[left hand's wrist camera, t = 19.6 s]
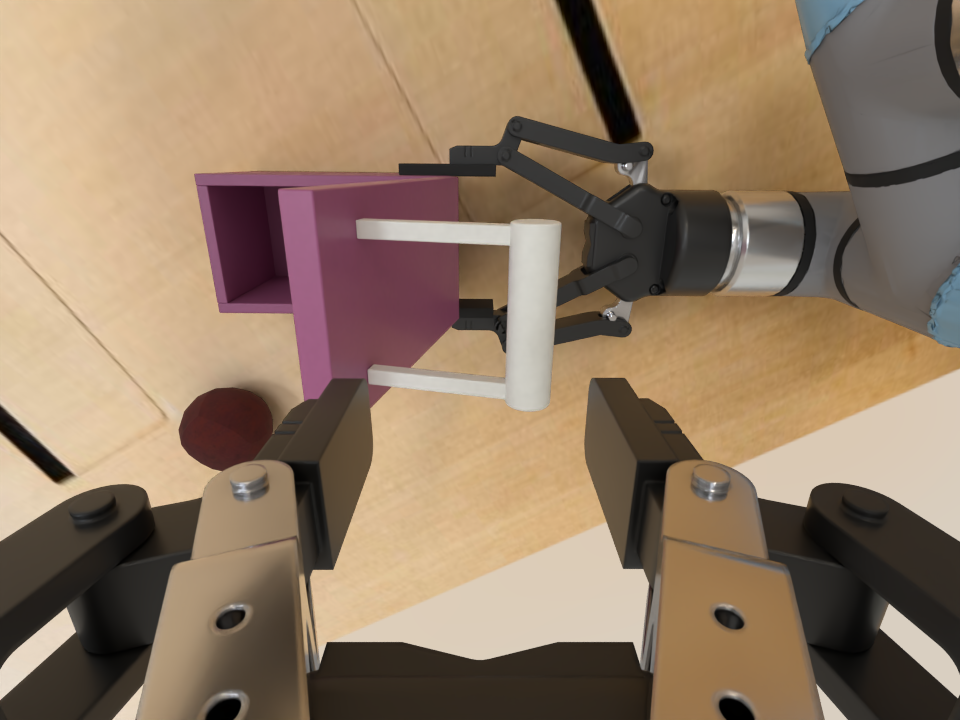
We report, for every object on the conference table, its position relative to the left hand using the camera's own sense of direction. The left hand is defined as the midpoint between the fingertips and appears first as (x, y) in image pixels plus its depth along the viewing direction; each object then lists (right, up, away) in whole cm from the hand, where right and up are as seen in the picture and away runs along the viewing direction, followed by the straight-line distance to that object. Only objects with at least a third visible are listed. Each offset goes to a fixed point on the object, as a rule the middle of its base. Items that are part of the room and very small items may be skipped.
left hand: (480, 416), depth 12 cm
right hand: (-6, +10, +25) cm, 28 cm away
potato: (-23, -4, +38) cm, 44 cm away
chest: (-10, +12, +32) cm, 35 cm away
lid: (-5, +6, +14) cm, 16 cm away
